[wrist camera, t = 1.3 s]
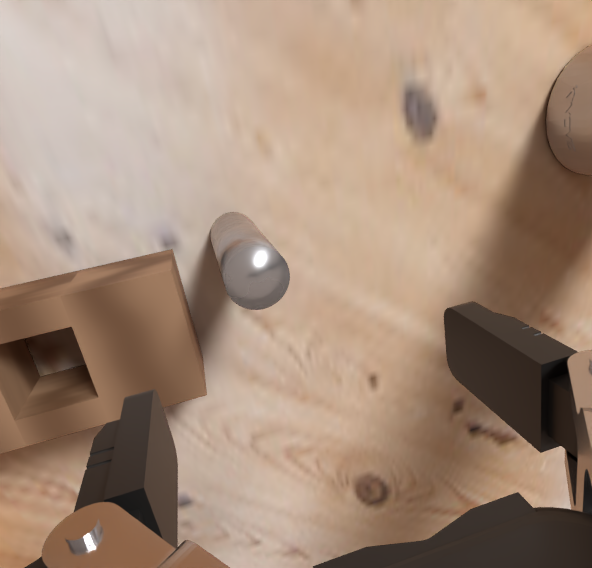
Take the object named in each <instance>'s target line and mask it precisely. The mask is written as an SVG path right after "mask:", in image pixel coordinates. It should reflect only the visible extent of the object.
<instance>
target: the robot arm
mask: <svg viewBox="0 0 592 568" xmlns="http://www.w3.org/2000/svg"><path fill="white" fill-rule="evenodd" d="M546 126H547V136H548V140H549V143H550V147H551V149H552V151H553V153H554V155H555V157H556V158H557V159H558V160H559V161H560V163H561V164H562V165H563V166H564V167H566V168H568V169H569V170H571V171H572V172H576V173H579V174H584V175H592V45H590V46H588V47H586V48H585V49H583V50H582V51H581V52H579V53H578V54H577V55H575V56H574V58H573V59H572V60H571V61H570V62H569V63H568V64H567V65H566V66H565V68H564V69H563V71H562V72H561V74H560V75H559V77H558V79H557V81H556V83H555V85H554V88H553V90H552V92H551V96H550V100H549V103H548V107H547V118H546ZM444 326H445V340H446V354H447V362H448V365H449V368H450V370H451V372H452V374H453V376H454V377H455V378H456V379H457V380H458V381H459V382H460V383H461V384H462V385H464V386H465V387H466V388H467V389H468V390H469V391H470V392H472V393H473V394H474V395H475V396H476V397H477V398H478V399H480V400H481V401H482V402H483V403H484V404H485V405H486V406H488V407H489V408H490V409H491V410H492V411H493V412H494V413H496V414H497V415H498V416H499V417H500V418H501V419H502V420H504V421H505V422H506V423H507V424H508V425H509V426H511V427H512V428H513V429H514V430H515V431H516V432H517V433H519V434H520V435H521V436H522V437H523V438H524V439H525V440H527V441H528V442H529V443H530V444H531V445H532V446H533V447H535V448H536V449H537V450H538V451H539V452H540V453H541V452H544V451H547V450H550V449H553V448H556V447H559V446H562V447H563V448H565V468H566V475H567V483H568V490H569V497H570V504H571V510H570V509H563V508H553V507H538V508H533V507H532V506H531V505H530V504H529V503H528V502H527V501H526V500H525V499H524V498H523V497H522V496H521V495H520V494H519V493H518V492H517V493H514V494H511V495H509V496H506V497H503V498H500V499H498V500H495V501H492V502H489V503H487V504H484V505H481V506H478V507H476V508H473V509H470V510H469V511H468V512H466V513H465V514H463V515H462V516H461V517H459V518H458V519H456V520H455V521H454V522H452V523H451V524H449V525H448V526H447V527H445V528H444V529H442V530H441V531H439V532H438V533H437V534H435V535H434V536H432V537H431V538H429V539H427V540H423V541H416V542H407V543H398V544H389V545H380V546H372V547H365V548H363V549H360V550H357V551H354V552H352V553H349V554H346V555H343V556H340V557H338V558H335V559H332V560H329V561H327V562H324V563H321V564H318V565H316V566H313V568H592V350H586V351H581V352H577V351H575V350H573V349H571V348H570V347H568V346H566V345H564V344H562V343H560V342H558V341H557V340H555V339H553V338H551V337H549V336H547V335H545V334H541V332H540V331H538V330H536V329H534V328H532V327H530V328H529V325H527V324H525V323H523V322H521V321H519V320H518V319H516V318H513V317H510V316H506V315H502V314H498V313H493V312H492V311H490V310H488V309H486V308H484V307H483V306H481V305H479V304H477V303H475V302H468V303H465V304H461V305H457V306H454V307H450V308H447V309H446V310H445V313H444ZM86 467H87V470H85V474H84V477H83V481H82V484H81V488H80V492H79V495H78V499H77V502H76V506H75V510H74V513H72V514H71V515H69V516H68V517H66V518H65V519H64V520H63V521H61V522H60V523H59V524H58V525H57V526H56V527H55V528H54V529H53V531H52V532H51V533H50V534H49V536H48V538H47V539H46V541H45V543H44V546H43V549H42V557H40V558H39V559H38V560H36V561H35V562H33V563H31V564H30V565H28V566H27V567H25V568H230V567H228V566H227V565H226V564H224V563H223V562H221V561H220V560H218V559H217V558H216V557H214V556H213V555H211V554H210V553H209V552H207V551H206V550H204V549H203V548H202V547H200V546H199V545H197V544H196V543H194V542H192V541H189V540H185V541H184V542H183V543H182V544H181V545H180V546H179V547H178V548H177V501H178V464H177V455H176V449H175V445H174V441H173V438H172V435H171V431H170V428H169V425H168V422H167V419H166V416H165V413H164V410H163V407H162V404H161V401H160V398H159V395H158V393H157V391H156V390H155V389H153V390H149V391H146V392H142V393H139V394H135V395H131V396H128V397H125V398H124V402H123V407H122V412H121V416H120V419H119V420H115V421H112V422H108V423H106V424H105V426H104V427H103V428H102V429H101V431H100V432H99V433H98V434H97V436H96V437H95V438H94V441H93V445H92V448H91V452H90V457H89V459H88V463H87V466H86Z"/></svg>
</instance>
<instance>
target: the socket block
mask: <svg viewBox="0 0 592 568" xmlns="http://www.w3.org/2000/svg"><path fill="white" fill-rule="evenodd" d="M68 327H72V329H73V331H74V334H75V336H76V339H77V342H78V344H79V347H80V350H81V352H82V355H83V357H84V360H85V363H86V365H83V366H79V367H76V368H72V369H68V370H64V371H60V372H57V373H53V374H49V375H45V376H41V377H40V375H39V373H38V371H37V368H36V366H35V364H34V361H33V359H32V357H31V354H30V352H29V350H28V347H27V345H26V343H25V340H24V338H27V337H31V336H35V335H39V334H43V333H47V332H52V331H56V330H60V329H64V328H68ZM153 389H155V390H156V391H157V393H158V395H159V398H160V401H161V404H162V407H167V406H170V405H174V404H177V403H181V402H184V401H188V400H191V399H195V398H198V397H202V396H205V395H207V392H206V383H205V374H204V364H203V357H202V353H201V350H200V346H199V342H198V339H197V335H196V332H195V328H194V325H193V321H192V317H191V314H190V310H189V307H188V303H187V300H186V296H185V292H184V289H183V285H182V282H181V278H180V275H179V271H178V268H177V264H176V260H175V257H174V253H173V250H172V249H171V250H167V251H162V252H158V253H154V254H149V255H145V256H141V257H136V258H132V259H128V260H123V261H119V262H114V263H110V264H106V265H101V266H97V267H93V268H88V269H84V270H80V271H75V272H71V273H66V274H62V275H58V276H53V277H49V278H45V279H40V280H36V281H32V282H27V283H23V284H18V285H14V286H10V287H5V288H1V289H0V454H2V453H5V452H9V451H12V450H16V449H19V448H23V447H26V446H30V445H33V444H37V443H40V442H44V441H47V440H51V439H54V438H58V437H61V436H65V435H68V434H72V433H75V432H79V431H82V430H86V429H89V428H93V427H96V426H100V425H103V424H106V423H108V422H112V421H115V420H119V419H120V416H121V412H122V407H123V402H124V398H125V397H128V396H131V395H135V394H139V393H142V392H146V391H149V390H153Z"/></svg>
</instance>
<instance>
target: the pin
mask: <svg viewBox="0 0 592 568" xmlns="http://www.w3.org/2000/svg"><path fill="white" fill-rule="evenodd" d="M210 238H211V242H212V246H213V249H214V252H215V255H216V259H217V262H218V265H219V269H220V272H221V275H222V278H223V282H224V285H225V288H226V291H227V293H228V295H229V296H230V298H231V299H232V300H233V301H234V302H235V303H236V304H238V305H239V306H241V307H243V308H247V309H251V310H260V309H265V308H268V307H270V306H272V305H274V304H275V303H277V302H278V301H279V300H280V299H281V298H282V297H283V295H284V294H285V292H286V290H287V288H288V285H289V280H290V273H289V268H288V265H287V263H286V261H285V260H284V258H283V257H282V256H281V255H280V254H279V252H278V251H277V250H276V249H275V248H274V247H273V245H272V244H271V243H270V242H269V241H268V240H267V238H266V237H265V236H264V235H263V234H262V233H261V231H260V230H259V229H258V228H257V227H256V226H255V224H254V223H253V222H252V221H251V220H250V219H249V218H248V217H247V216H245V215H243V214H241V213H237V212H230V213H226V214H223V215H222V216H220V217H219V218H217V220H216V221H215V222H214V223H213V225H212V228H211V232H210Z"/></svg>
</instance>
